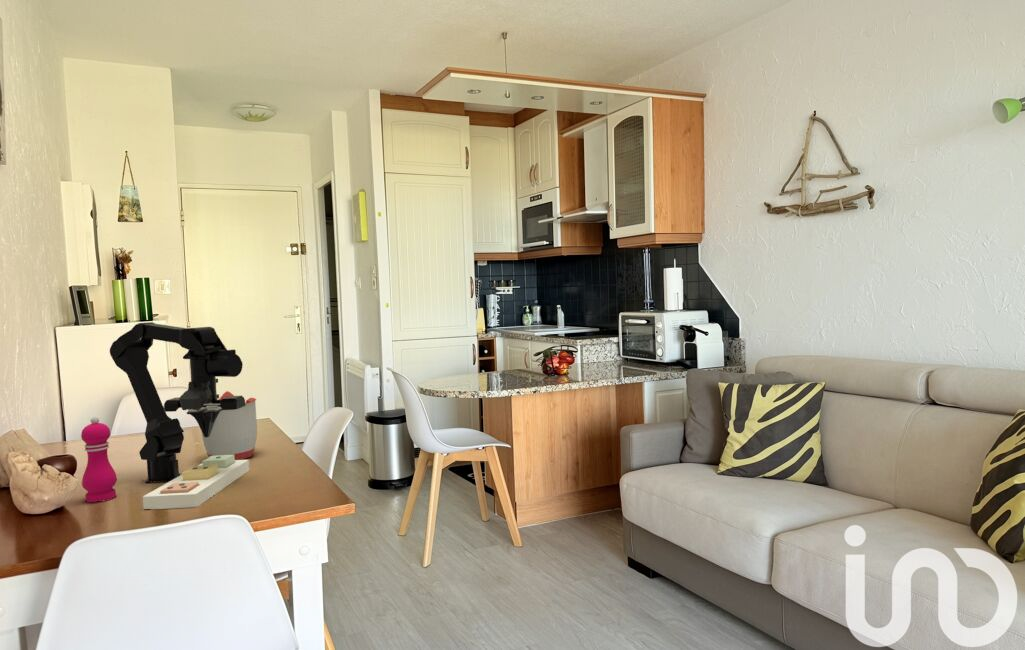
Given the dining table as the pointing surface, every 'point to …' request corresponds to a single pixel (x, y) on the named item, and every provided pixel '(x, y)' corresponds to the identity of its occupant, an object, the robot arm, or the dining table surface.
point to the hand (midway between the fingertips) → (206, 437)
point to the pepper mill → (98, 463)
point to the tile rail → (195, 489)
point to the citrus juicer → (233, 431)
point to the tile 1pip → (219, 461)
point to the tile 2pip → (200, 472)
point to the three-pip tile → (179, 488)
